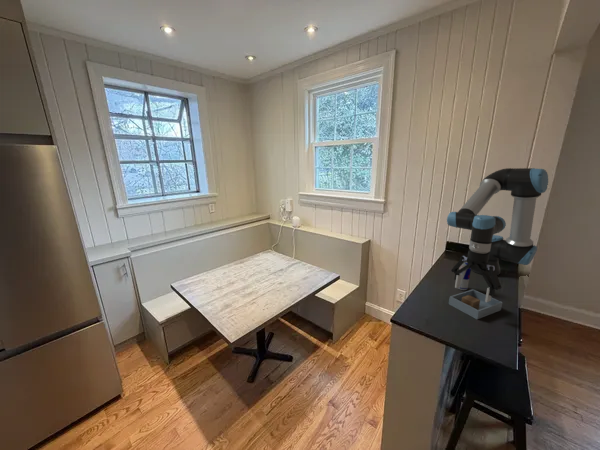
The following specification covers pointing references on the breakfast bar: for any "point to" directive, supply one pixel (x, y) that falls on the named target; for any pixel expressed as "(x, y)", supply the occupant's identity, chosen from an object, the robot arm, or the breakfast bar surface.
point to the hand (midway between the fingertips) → (471, 293)
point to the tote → (484, 307)
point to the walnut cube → (471, 301)
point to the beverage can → (464, 277)
